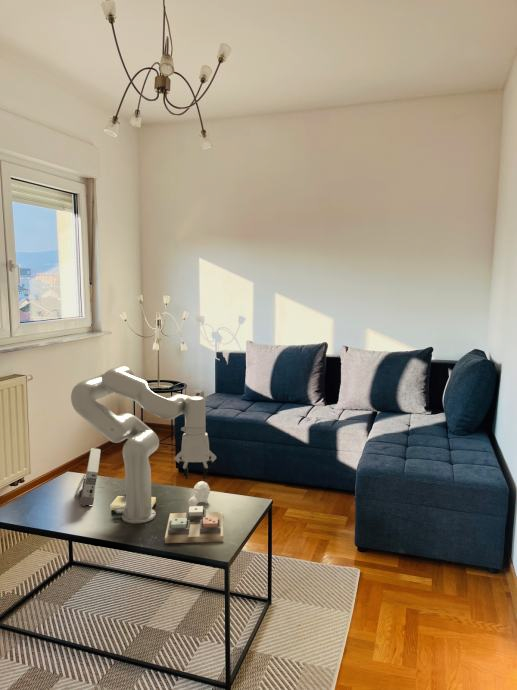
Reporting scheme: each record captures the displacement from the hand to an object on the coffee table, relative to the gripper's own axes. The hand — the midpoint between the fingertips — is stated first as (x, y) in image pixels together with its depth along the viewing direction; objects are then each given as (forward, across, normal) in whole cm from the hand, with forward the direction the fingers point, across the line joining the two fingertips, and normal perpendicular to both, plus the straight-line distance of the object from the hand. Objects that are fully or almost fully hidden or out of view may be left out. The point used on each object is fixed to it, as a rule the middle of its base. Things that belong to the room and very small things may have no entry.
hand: (195, 477), depth 198 cm
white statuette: (+18, 0, +16) cm, 24 cm away
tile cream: (+14, 0, 0) cm, 14 cm away
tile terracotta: (+14, +5, -10) cm, 18 cm away
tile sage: (+14, -6, -10) cm, 18 cm away
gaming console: (+18, -46, +26) cm, 56 cm away
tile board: (+18, 0, -6) cm, 18 cm away
